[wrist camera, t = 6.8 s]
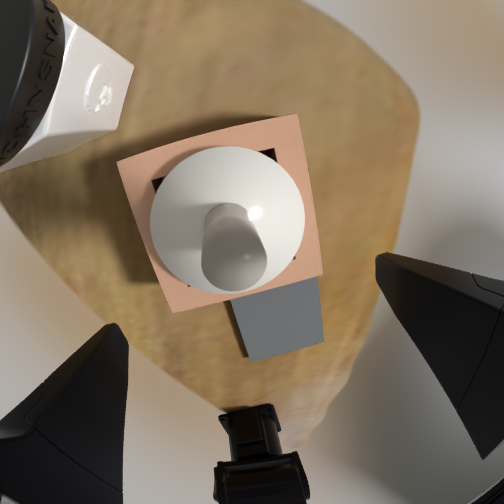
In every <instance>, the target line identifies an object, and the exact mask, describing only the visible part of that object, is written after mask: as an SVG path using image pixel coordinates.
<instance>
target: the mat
mask: <svg viewBox="0 0 504 504" xmlns="http://www.w3.org/2000/svg"><path fill="white" fill-rule="evenodd" d="M230 301H231V304H232V307H233V310H234V313H235V316H236V320H237V323H238V326H239V329H240V332H241V335H242V338H243V341H244V344H245V347H246V349H247V352H248V355H249V358H250V361H251V362H252V361H256V360H260V359H264V358H268V357H272V356H276V355H279V354H283V353H287V352H290V351H294V350H297V349H301V348H304V347H308V346H311V345H314V344H318V343H321V342H324V337H323V326H322V316H321V306H320V297H319V288H318V280H317V276H316V277H312V278H309V279H305V280H302V281H298V282H295V283H291V284H287V285H284V286H280V287H276V288H272V289H269V290H265V291H261V292H257V293H253V294H250V295H246V296H242V297H238V298H234V299H230Z"/></svg>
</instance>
